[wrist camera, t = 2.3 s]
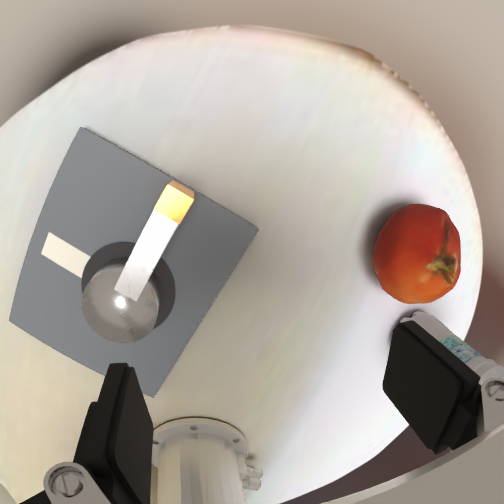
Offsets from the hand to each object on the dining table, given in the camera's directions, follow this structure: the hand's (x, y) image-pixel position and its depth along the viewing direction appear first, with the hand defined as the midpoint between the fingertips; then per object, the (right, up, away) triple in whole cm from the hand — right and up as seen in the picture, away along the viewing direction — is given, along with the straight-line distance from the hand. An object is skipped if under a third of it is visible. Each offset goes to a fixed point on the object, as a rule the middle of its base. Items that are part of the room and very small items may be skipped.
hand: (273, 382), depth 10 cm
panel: (-13, +2, +16) cm, 21 cm away
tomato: (+14, +5, +21) cm, 25 cm away
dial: (-9, +4, +15) cm, 18 cm away
